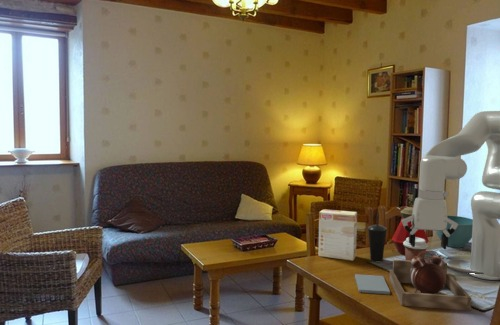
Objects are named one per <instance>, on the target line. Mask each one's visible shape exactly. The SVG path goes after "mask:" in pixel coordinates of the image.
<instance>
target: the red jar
mask: <svg viewBox="0 0 500 325" xmlns="http://www.w3.org/2000/svg"><path fill="white" fill-rule="evenodd" d="M413 207H414V206H413ZM413 207H411V206H410V207H405V208H403V209H402V210H401V211H399V213H400V215H401V219H400V221H399V224H398V226H397V228H396V230H395V231H394V233H393V236H392V238H391V241H392V242H393V244H394V246H395V248H396V251H397V252H398V253H399V254H400V255H402V256H405V246H404V245H403V242H404V241H405V240H406V238H408V237H409V232H408V231H407V230H406V229H405V228H404V226H403V224H402V222H401V220H402V219H405V218H407V217H410V216H412V213H413ZM407 225H408V227H409V228H411V227H412V226H413V225H412V221H410V222H408V223H407ZM414 234H415V237H418V238H422V239H424V240H425V241H426V243H427V244H428V242H429V239H428V236H427V235H428V234H427V233H426V230H419V229H418V230H417V231H416V232H415V233H414Z"/></svg>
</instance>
